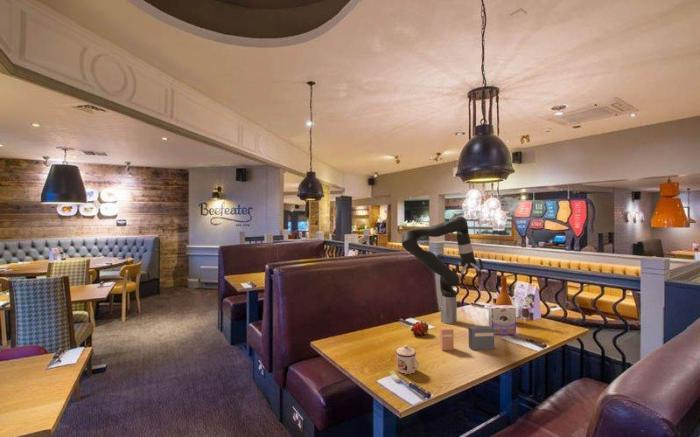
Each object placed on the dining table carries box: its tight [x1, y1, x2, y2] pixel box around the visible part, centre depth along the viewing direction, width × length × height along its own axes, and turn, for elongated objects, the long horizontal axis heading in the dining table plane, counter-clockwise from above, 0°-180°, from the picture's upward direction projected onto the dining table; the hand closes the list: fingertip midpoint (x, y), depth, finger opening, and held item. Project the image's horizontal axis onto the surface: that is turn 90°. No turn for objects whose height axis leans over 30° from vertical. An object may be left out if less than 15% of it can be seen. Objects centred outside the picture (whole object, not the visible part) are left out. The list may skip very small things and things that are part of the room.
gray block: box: [467, 325, 496, 351], centre depth 173 cm, size 12×4×11 cm, turn 91°
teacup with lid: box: [395, 344, 420, 375], centre depth 150 cm, size 12×9×12 cm
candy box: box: [488, 304, 517, 336], centre depth 192 cm, size 14×6×16 cm, turn 84°
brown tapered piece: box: [495, 276, 513, 306], centre depth 211 cm, size 10×10×30 cm
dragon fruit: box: [410, 320, 429, 337], centre depth 194 cm, size 8×8×12 cm
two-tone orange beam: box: [439, 326, 455, 351], centre depth 173 cm, size 6×4×11 cm
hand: (472, 278), depth 186 cm, fingers open, 8 cm apart
